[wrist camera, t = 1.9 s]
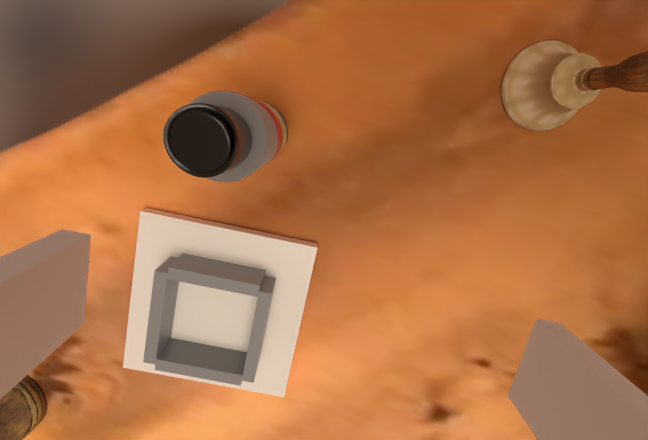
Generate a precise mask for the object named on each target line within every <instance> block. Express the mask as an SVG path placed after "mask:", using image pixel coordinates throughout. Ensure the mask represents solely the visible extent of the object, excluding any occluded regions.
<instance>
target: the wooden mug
mask: <svg viewBox="0 0 648 440" xmlns="http://www.w3.org/2000/svg"><path fill="white" fill-rule="evenodd" d="M46 407H47V406H46V402H45V397H44V395H43V393H42V392H41V390H40V388H39V387H38V386H37V385H36V383H35V382H34V381H33V380H31V379H30V378H29V377H27V376H26V377H24V378H23V379H22V380H21V381H20V382H19V383H18V384H17V385H16V386H14V387H13V388H12V389H11V390H10V391H9V392H8V393H7V394H6V395H4V396H3V397H2V398H1V399H0V440H22V439H24V438H25V437H26V436H27V435H28V434H29V433H30V432H31V431H32V430H33V429H34V428H35V427H36V426H37V425H38V424H39V423H40V421H41V420H42V419H43V418H44V416H45V413H46Z"/></svg>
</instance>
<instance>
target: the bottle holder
mask: <svg viewBox="0 0 648 440" xmlns="http://www.w3.org/2000/svg"><path fill="white" fill-rule="evenodd" d="M317 248H318V243H314V242H309V241H304V240H299V239H295V238H290V237H285V236H280V235H275V234H270V233H266V232H261V231H256V230H251V229H246V228H242V227H237V226H232V225H227V224H222V223H217V222H213V221H208V220H203V219H198V218H193V217H189V216H184V215H179V214H174V213H169V212H164V211H160V210H155V209H150V208H146V209H144V210H142V211H140V220H139V229H138V238H137V247H136V256H135V265H134V274H133V283H132V291H131V300H130V309H129V318H128V327H127V336H126V345H125V354H124V363H123V368H129V369H134V370H140V371H145V372H150V373H156V374H161V375H167V376H172V377H177V378H183V379H188V380H194V381H199V382H204V383H210V384H215V385H221V386H226V387H231V388H237V389H242V390H248V391H253V392H258V393H264V394H269V395H275V396H280V397H284V395H285V391H286V386H287V382H288V377H289V373H290V369H291V364H292V360H293V355H294V351H295V346H296V342H297V337H298V333H299V328H300V324H301V319H302V315H303V311H304V306H305V302H306V297H307V293H308V288H309V284H310V279H311V275H312V270H313V266H314V261H315V257H316V253H317Z"/></svg>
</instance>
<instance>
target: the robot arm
mask: <svg viewBox="0 0 648 440" xmlns="http://www.w3.org/2000/svg"><path fill="white" fill-rule="evenodd" d="M90 239H91V235H89V234H84V233H79V232H73V231H68V230H63V229H62V230H60V231H58V232H55V233H53V234H51V235H49V236H47V237H44V238H42V239H40V240H38V241H35V242H33V243H31V244H29V245H26V246H24V247H22V248H20V249H18V250H15V251H13V252H11V253H9V254H6V255H4V256H2V257H0V399H1V398H2V397H3V396H4V395H6V394H7V393H8V392H9V391H10V390H11V389H12V388H13V387H14V386H16V385H17V384H18V383H19V382H20V381H21V380H22V379H23V378H24V377H26V376H27V375H28V374H29V373H30V372H31V371H32V370H33V369H34V368H35V367H37V366H38V365H39V364H40V363H41V362H42V361H43V360H44V359H45V358H47V357H48V356H49V355H50V354H51V353H52V352H53V351H54V350H55V349H57V348H58V347H59V346H60V345H61V344H62V343H63V342H64V341H65V340H67V339H68V338H69V337H70V336H71V335H72V334H73V333H74V332H75V331H77V330H78V329H79V328H80V327H81V326H82V325H83V324H84V322H85V308H86V294H87V281H88V267H89V253H90ZM508 397H509V398H510V400H511V401H512V403H513V404H514V406H515V407H516V408H517V410H518V411H519V413H520V414H521V416H522V417H523V419H524V420H525V421H526V423H527V424H528V426H529V427H530V429H531V430H532V432H533V433H534V434H535V436H536V437H537V439H538V440H648V396H647V395H646V394H645V393H644V392H642V391H641V390H640V389H639V388H638V387H636V386H635V385H634V384H633V383H632V382H630V381H629V380H628V379H627V378H626V377H624V376H623V375H622V374H621V373H620V372H619V371H617V370H616V369H615V368H614V367H613V366H611V365H610V364H609V363H608V362H607V361H605V360H604V359H603V358H602V357H601V356H599V355H598V354H597V353H596V352H595V351H593V350H592V349H591V348H590V347H589V346H587V345H586V344H585V343H584V342H583V341H581V340H580V339H579V338H578V337H577V336H575V335H574V334H573V333H572V332H571V331H570V330H568V329H567V328H566V327H565V326H564V325H562V324H561V323H557V322H552V321H546V320H541V319H537V320H536V323H535V325H534V328H533V331H532V333H531V336H530V339H529V341H528V344H527V347H526V349H525V352H524V355H523V357H522V360H521V363H520V365H519V368H518V370H517V373H516V376H515V378H514V381H513V384H512V386H511V389H510V392H509V394H508Z"/></svg>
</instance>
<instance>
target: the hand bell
mask: <svg viewBox="0 0 648 440" xmlns="http://www.w3.org/2000/svg"><path fill="white" fill-rule="evenodd" d="M610 87H617V88H620V89H623V90H626V91H631V92H648V51H647V52H643V53H640V54H637V55H634V56H632V57H630V58H628V59H626V60H624V61H623V62H621V63H620V64H618V65H614V66H607V67H602V66H601V64H600V63H599V61H598V60H597V59H596V58H594V57H593V56H591V55H588V54H584V53H579V52H578V51H577V50H576V49H574V48H573V47H571V46H570V45H568V44H566V43H563V42H560V41H554V40H546V41H541V42H537V43H534V44H532V45H530V46H528V47H526V48H525V49H523V50H522V51H521V52H520V53H518V54H517V55H516V56H515V57H514V59H513V60H512V61H511V63H510V64H509V66H508V68H507V70H506V72H505V75H504V77H503V82H502V90H501V96H502V101H503V104H504V107H505V110H506V112H507V114H508V115H509V117H510V118H511V119H512V120H513V121H514V122H515V123H516V124H518V125H519V126H521V127H523V128H525V129H528V130H533V131H546V130H551V129H554V128H557V127H559V126H561V125H563V124H564V123H566V122H567V121H568V120H570V119H571V118H572V117H573V116H574V115H575V114H576V113H577V111H578V110H579V109H580V108H581V107H584V106H586V105H588V104H589V103H590V102H592V101H593V100H594V99H595V98H596V97H597V95H598V94H599V92H600V91H601V89H603V88H610Z"/></svg>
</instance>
